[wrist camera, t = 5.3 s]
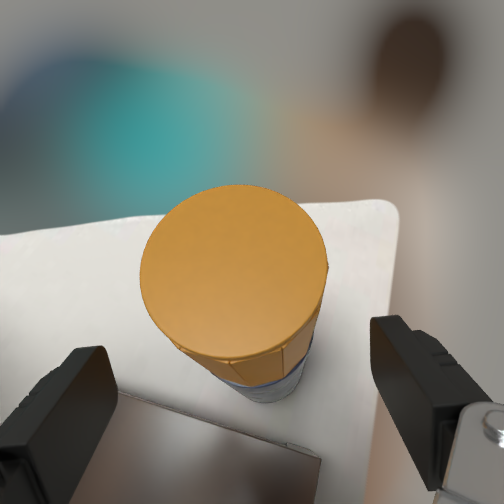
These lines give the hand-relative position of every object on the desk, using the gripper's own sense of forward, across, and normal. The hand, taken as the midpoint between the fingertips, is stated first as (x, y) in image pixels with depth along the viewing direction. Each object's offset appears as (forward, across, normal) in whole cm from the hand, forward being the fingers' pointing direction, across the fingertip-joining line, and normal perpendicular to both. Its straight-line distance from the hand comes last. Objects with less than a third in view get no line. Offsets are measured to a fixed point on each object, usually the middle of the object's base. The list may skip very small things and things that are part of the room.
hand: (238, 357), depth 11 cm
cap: (+8, 0, +3) cm, 8 cm away
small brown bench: (+13, +7, +18) cm, 23 cm away
